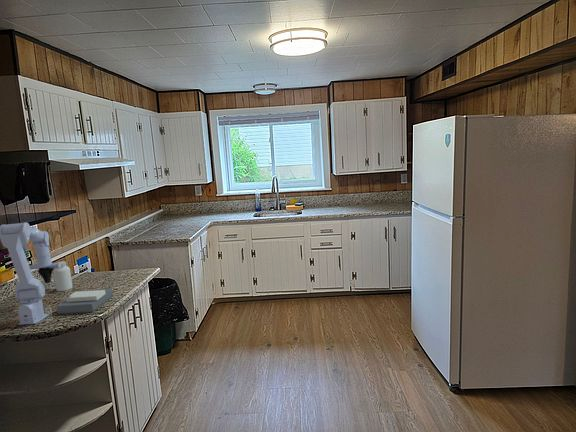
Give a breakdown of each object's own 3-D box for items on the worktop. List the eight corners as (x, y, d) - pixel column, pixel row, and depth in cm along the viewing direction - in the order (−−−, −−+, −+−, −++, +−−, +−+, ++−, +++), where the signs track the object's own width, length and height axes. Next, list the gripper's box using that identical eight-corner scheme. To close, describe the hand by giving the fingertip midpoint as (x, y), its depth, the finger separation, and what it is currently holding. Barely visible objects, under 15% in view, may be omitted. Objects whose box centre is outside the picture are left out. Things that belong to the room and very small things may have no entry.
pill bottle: (64, 292, 207) (59, 265, 205) (52, 291, 210) (48, 264, 208) (76, 286, 215) (72, 260, 212) (65, 286, 217) (60, 260, 215)
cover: (97, 300, 179) (96, 295, 179) (66, 302, 180) (65, 297, 179) (105, 293, 187) (104, 289, 187) (76, 295, 188) (75, 290, 187)
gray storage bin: (93, 312, 176) (92, 303, 176) (58, 314, 177) (57, 306, 176) (113, 295, 196) (112, 288, 195) (81, 297, 196) (80, 290, 196)
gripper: (62, 252, 192) (67, 278, 195) (33, 254, 193) (38, 280, 195) (54, 256, 185) (58, 283, 188) (24, 258, 186) (29, 285, 188)
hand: (48, 282), depth 191 cm, fingers closed
